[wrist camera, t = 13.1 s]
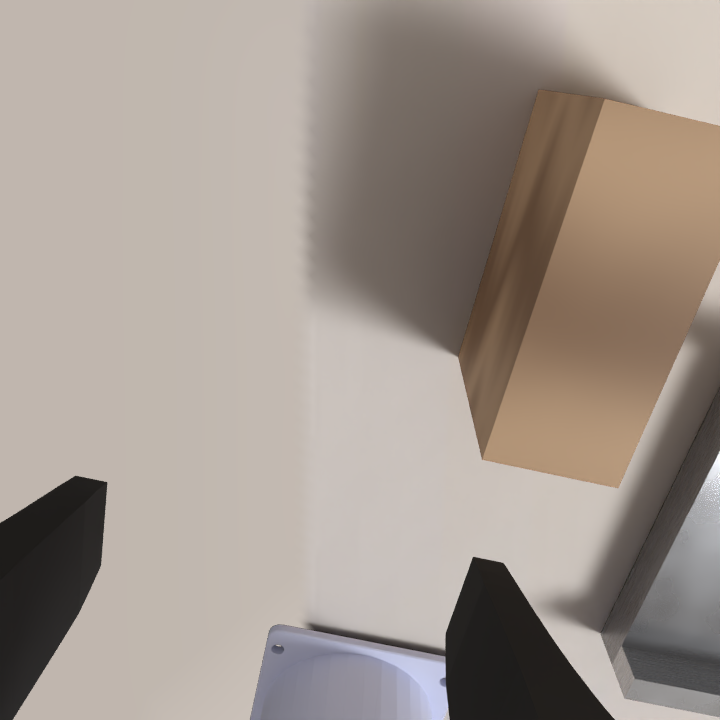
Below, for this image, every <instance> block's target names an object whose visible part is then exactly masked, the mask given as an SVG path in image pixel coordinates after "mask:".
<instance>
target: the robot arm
mask: <svg viewBox="0 0 720 720" xmlns="http://www.w3.org/2000/svg"><path fill="white" fill-rule="evenodd" d="M106 492H107V482H104V481H99V480H93V479H89V478H84V477H79V476H74V477H73V478H71V479H70V480H68V481H66V482H65V483H63V484H61V485H60V486H58V487H57V488H55V489H54V490H52V491H51V492H49V493H47V494H46V495H44V496H43V497H41V498H39V499H38V500H37V501H35V502H33V503H32V504H30V505H29V506H27V507H26V508H24V509H22V510H21V511H19V512H18V513H16V514H14V515H13V516H11V517H9V518H8V519H6V520H5V521H3V522H1V523H0V720H13V718H14V717H15V715H16V714H17V712H18V710H19V708H20V707H21V706H22V704H23V702H24V701H25V699H26V698H27V696H28V694H29V693H30V691H31V690H32V688H33V686H34V685H35V683H36V682H37V680H38V678H39V677H40V675H41V674H42V672H43V670H44V669H45V667H46V665H47V664H48V662H49V661H50V659H51V658H52V656H53V654H54V653H55V651H56V650H57V648H58V646H59V645H60V643H61V642H62V640H63V638H64V637H65V635H66V633H67V632H68V630H69V629H70V627H71V625H72V623H73V622H74V620H75V619H76V617H77V615H78V614H79V612H80V610H81V608H82V605H83V603H84V601H85V599H86V597H87V595H88V593H89V591H90V589H91V586H92V584H93V582H94V580H95V577H96V575H97V573H98V571H99V569H100V566H101V558H102V544H103V532H104V518H105V505H106ZM276 645H281V646H282V647H278V646H276ZM443 678H446V679H443ZM448 708H449V717H450V720H615V719H614V718H613V717H612V716H611V715H610V714H609V713H608V711H607V710H606V709H605V708H604V707H603V705H602V704H601V703H600V702H599V700H598V699H597V698H596V697H595V696H594V694H593V693H592V692H591V690H590V689H589V688H588V686H587V685H586V684H585V683H584V681H583V680H582V679H581V677H580V676H579V675H578V673H577V672H576V671H575V670H574V668H573V667H572V665H571V664H570V663H569V661H568V660H567V659H566V657H565V656H564V654H563V653H562V652H561V650H560V649H559V647H558V646H557V645H556V643H555V642H554V640H553V639H552V637H551V636H550V634H549V633H548V631H547V630H546V628H545V627H544V625H543V624H542V622H541V621H540V619H539V618H538V616H537V615H536V613H535V612H534V610H533V609H532V607H531V605H530V604H529V602H528V601H527V599H526V598H525V596H524V594H523V593H522V591H521V590H520V588H519V587H518V585H517V583H516V582H515V580H514V579H513V577H512V575H511V574H510V572H509V571H508V569H507V568H506V566H505V565H504V563H501V562H496V561H491V560H486V559H481V558H476V557H473V559H472V562H471V564H470V567H469V570H468V573H467V576H466V578H465V581H464V584H463V587H462V590H461V592H460V595H459V598H458V601H457V604H456V606H455V609H454V612H453V615H452V617H451V620H450V623H449V626H448V629H447V631H446V653H445V656H440V655H435V654H430V653H425V652H420V651H414V650H409V649H404V648H399V647H394V646H389V645H384V644H379V643H374V642H369V641H364V640H359V639H353V638H348V637H343V636H338V635H333V634H328V633H323V632H318V631H313V630H308V629H303V628H297V627H292V626H287V625H275V626H273V627H272V628H271V629H270V631H269V634H268V638H267V643H266V648H265V652H264V657H263V661H262V666H261V671H260V675H259V680H258V685H257V689H256V694H255V699H254V703H253V708H252V713H251V717H250V720H444V717H445V714H446V712H447V709H448Z"/></svg>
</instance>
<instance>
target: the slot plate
mask: <svg viewBox="0 0 720 720" xmlns="http://www.w3.org/2000/svg"><path fill="white" fill-rule="evenodd" d="M601 636H602V639H603V642H604V644H605V647H606V650H607V653H608V655H609V658H610V661H611V663H612V666H613V669H614V671H615V674H616V677H617V680H618V682H619V685H620V688H621V690H622V693H623V696H624V698H625V699H630V700H635V701H640V702H645V703H650V704H655V705H660V706H665V707H670V708H675V709H681V710H686V711H691V712H696V713H701V714H706V715H711V716H716V717H720V389H719V391H718V393H717V395H716V397H715V399H714V401H713V403H712V405H711V407H710V409H709V412H708V414H707V416H706V418H705V420H704V422H703V424H702V426H701V428H700V430H699V432H698V434H697V436H696V438H695V440H694V442H693V445H692V447H691V449H690V451H689V453H688V455H687V457H686V459H685V461H684V463H683V465H682V467H681V469H680V471H679V473H678V476H677V478H676V480H675V482H674V484H673V486H672V488H671V490H670V492H669V494H668V496H667V498H666V500H665V502H664V504H663V507H662V509H661V511H660V513H659V515H658V517H657V519H656V521H655V523H654V525H653V527H652V529H651V531H650V533H649V535H648V538H647V540H646V542H645V544H644V546H643V548H642V550H641V552H640V554H639V556H638V558H637V560H636V562H635V564H634V566H633V569H632V571H631V573H630V575H629V577H628V579H627V581H626V583H625V585H624V587H623V589H622V591H621V593H620V595H619V597H618V600H617V602H616V604H615V606H614V608H613V610H612V612H611V614H610V616H609V618H608V620H607V622H606V624H605V626H604V628H603V631H602V633H601Z"/></svg>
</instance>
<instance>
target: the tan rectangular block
mask: <svg viewBox="0 0 720 720" xmlns="http://www.w3.org/2000/svg"><path fill="white" fill-rule="evenodd" d="M719 261H720V126H718V125H713V124H709V123H705V122H701V121H697V120H692V119H688V118H684V117H680V116H676V115H671V114H667V113H663V112H659V111H655V110H650V109H646V108H642V107H638V106H634V105H630V104H625V103H621V102H617V101H613V100H609V99H604V98H597V97H590V96H582V95H575V94H568V93H561V92H554V91H546V90H538V94H537V97H536V100H535V104H534V107H533V110H532V114H531V117H530V120H529V124H528V127H527V130H526V133H525V137H524V140H523V143H522V147H521V150H520V153H519V157H518V160H517V163H516V167H515V170H514V173H513V177H512V180H511V183H510V187H509V190H508V193H507V197H506V200H505V203H504V206H503V210H502V213H501V216H500V220H499V223H498V226H497V230H496V233H495V236H494V240H493V243H492V246H491V250H490V253H489V256H488V260H487V263H486V266H485V270H484V273H483V276H482V279H481V283H480V286H479V289H478V293H477V296H476V299H475V303H474V306H473V309H472V313H471V316H470V319H469V323H468V326H467V329H466V333H465V336H464V339H463V343H462V346H461V349H460V352H459V356H458V359H459V363H460V367H461V371H462V376H463V380H464V384H465V389H466V393H467V397H468V401H469V406H470V410H471V414H472V418H473V423H474V427H475V431H476V435H477V440H478V444H479V448H480V453H481V457H482V460H486V461H491V462H496V463H501V464H505V465H510V466H515V467H520V468H524V469H529V470H534V471H539V472H543V473H548V474H553V475H558V476H562V477H567V478H572V479H577V480H581V481H586V482H591V483H596V484H600V485H605V486H610V487H615V488H618V487H619V485H620V483H621V481H622V479H623V476H624V474H625V472H626V470H627V467H628V465H629V463H630V461H631V458H632V456H633V454H634V452H635V449H636V447H637V445H638V443H639V440H640V438H641V436H642V434H643V431H644V429H645V427H646V425H647V422H648V420H649V418H650V416H651V413H652V411H653V409H654V407H655V404H656V402H657V400H658V398H659V395H660V393H661V391H662V389H663V386H664V384H665V382H666V380H667V377H668V375H669V373H670V371H671V368H672V366H673V364H674V362H675V359H676V357H677V355H678V353H679V350H680V348H681V346H682V344H683V341H684V339H685V337H686V335H687V332H688V330H689V328H690V326H691V323H692V321H693V319H694V317H695V315H696V312H697V310H698V308H699V306H700V303H701V301H702V299H703V297H704V294H705V292H706V290H707V288H708V285H709V283H710V281H711V279H712V276H713V274H714V272H715V270H716V267H717V265H718V263H719Z"/></svg>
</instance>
